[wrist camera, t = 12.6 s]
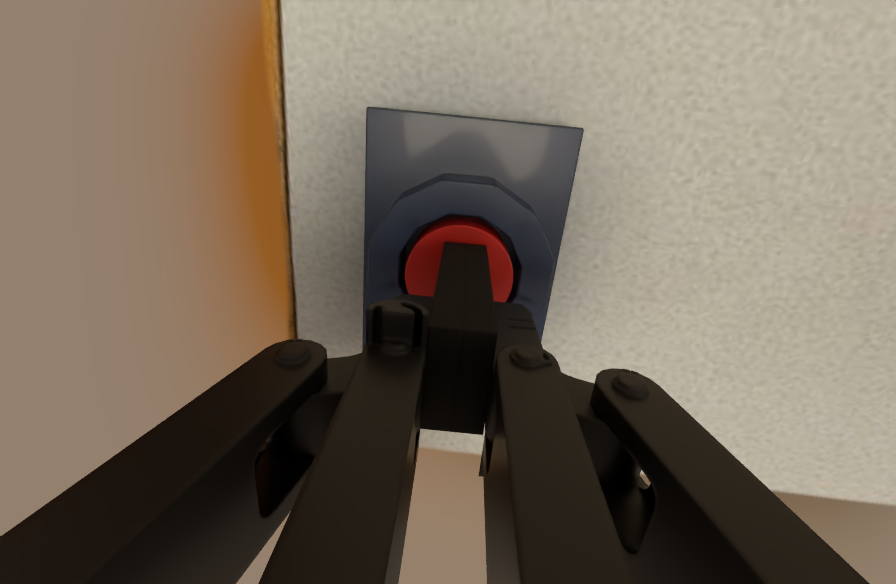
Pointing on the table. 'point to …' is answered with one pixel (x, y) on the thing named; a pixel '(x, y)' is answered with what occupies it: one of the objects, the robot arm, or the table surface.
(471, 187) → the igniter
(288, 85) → the table surface
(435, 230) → the button
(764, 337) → the table surface
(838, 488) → the table surface
